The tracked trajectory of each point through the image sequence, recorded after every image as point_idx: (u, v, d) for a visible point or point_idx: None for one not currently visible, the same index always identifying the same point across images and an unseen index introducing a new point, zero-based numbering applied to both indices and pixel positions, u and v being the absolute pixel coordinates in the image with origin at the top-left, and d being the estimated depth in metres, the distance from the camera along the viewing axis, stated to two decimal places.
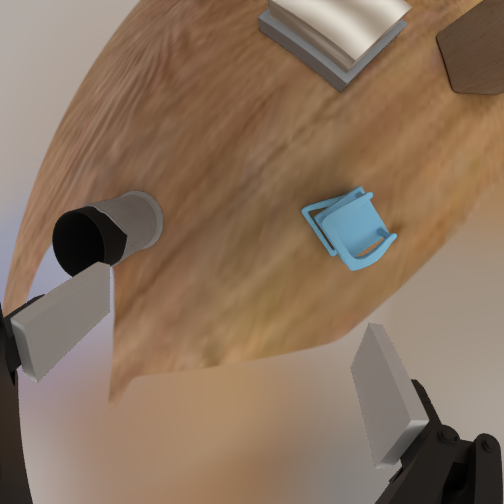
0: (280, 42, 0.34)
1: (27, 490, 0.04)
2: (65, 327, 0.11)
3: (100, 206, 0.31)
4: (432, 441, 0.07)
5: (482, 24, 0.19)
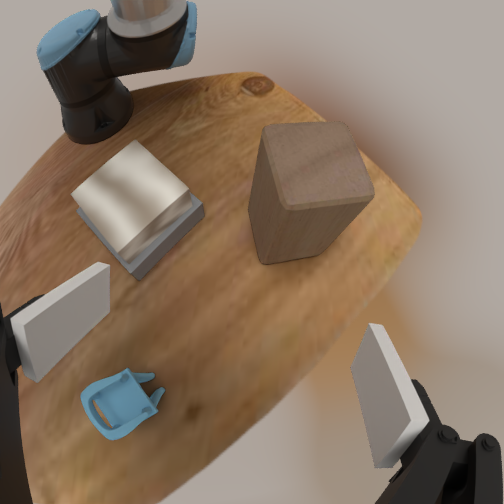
0: None
1: (27, 490, 0.04)
2: (65, 327, 0.11)
3: None
4: (432, 440, 0.07)
5: (259, 181, 0.35)
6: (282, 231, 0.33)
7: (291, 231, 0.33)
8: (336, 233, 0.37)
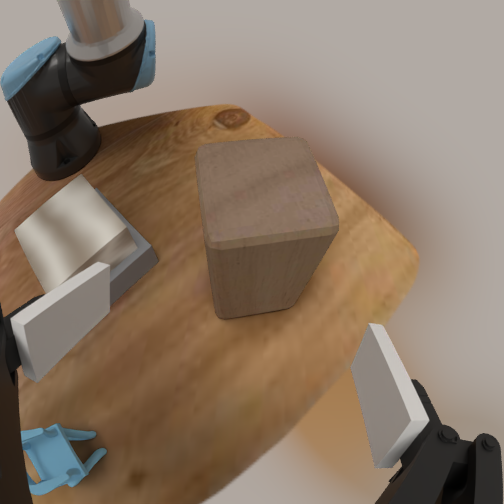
0: None
1: (27, 490, 0.04)
2: (65, 327, 0.11)
3: None
4: (432, 440, 0.07)
5: None
6: (221, 278, 0.25)
7: (234, 279, 0.26)
8: (301, 281, 0.30)
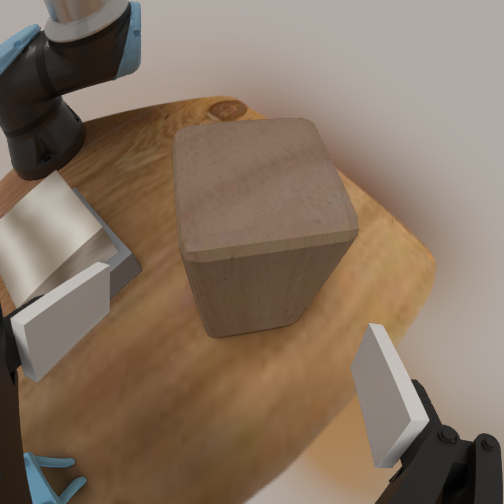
0: None
1: (27, 490, 0.04)
2: (65, 327, 0.11)
3: None
4: (432, 440, 0.07)
5: None
6: (205, 296, 0.20)
7: (223, 297, 0.20)
8: (307, 296, 0.24)
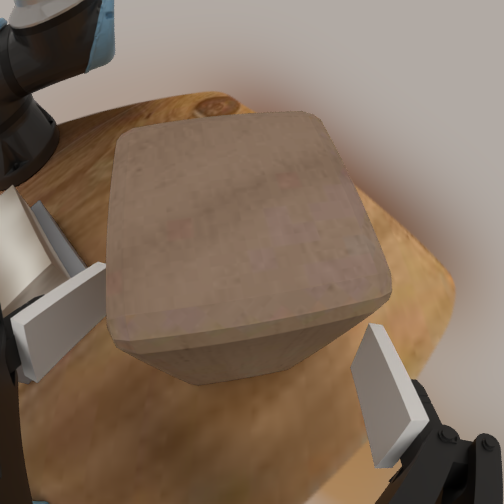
0: None
1: (27, 490, 0.04)
2: (66, 327, 0.11)
3: None
4: (432, 440, 0.07)
5: None
6: (166, 370, 0.13)
7: (190, 369, 0.14)
8: (307, 355, 0.18)
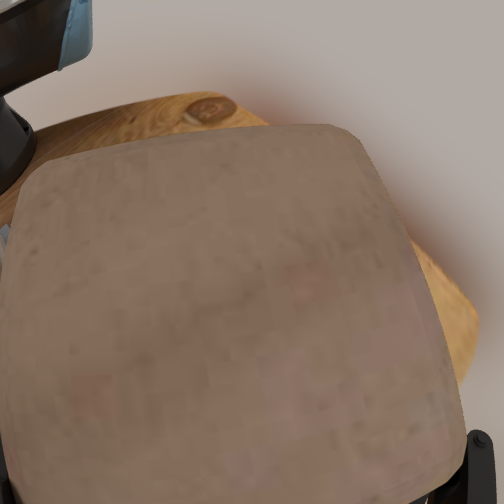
0: None
1: None
2: None
3: None
4: None
5: None
6: None
7: None
8: None
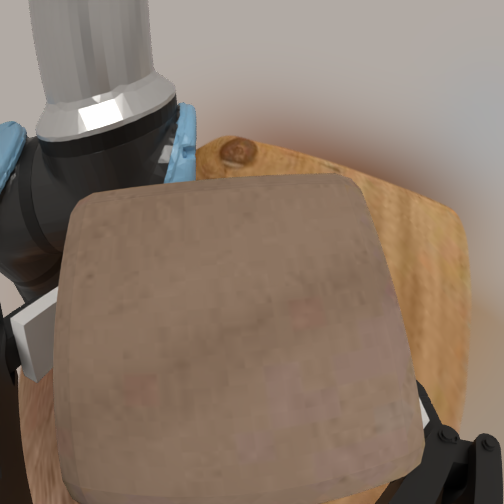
0: None
1: (27, 490, 0.04)
2: None
3: None
4: (432, 440, 0.07)
5: None
6: None
7: None
8: None
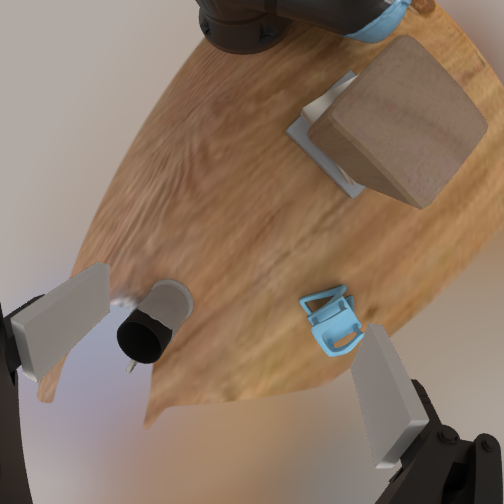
0: None
1: (27, 490, 0.04)
2: (65, 327, 0.11)
3: (152, 312, 0.44)
4: (432, 440, 0.07)
5: None
6: (322, 130, 0.24)
7: (331, 140, 0.24)
8: (375, 188, 0.28)
